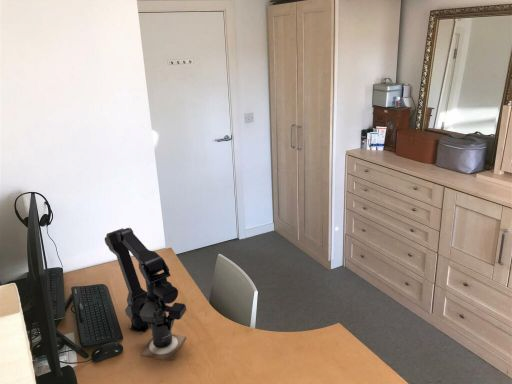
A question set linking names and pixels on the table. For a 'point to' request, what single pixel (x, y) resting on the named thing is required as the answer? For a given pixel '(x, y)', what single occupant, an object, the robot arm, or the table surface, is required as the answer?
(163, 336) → the supplement bottle
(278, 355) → the table surface
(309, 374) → the table surface
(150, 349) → the walnut board
